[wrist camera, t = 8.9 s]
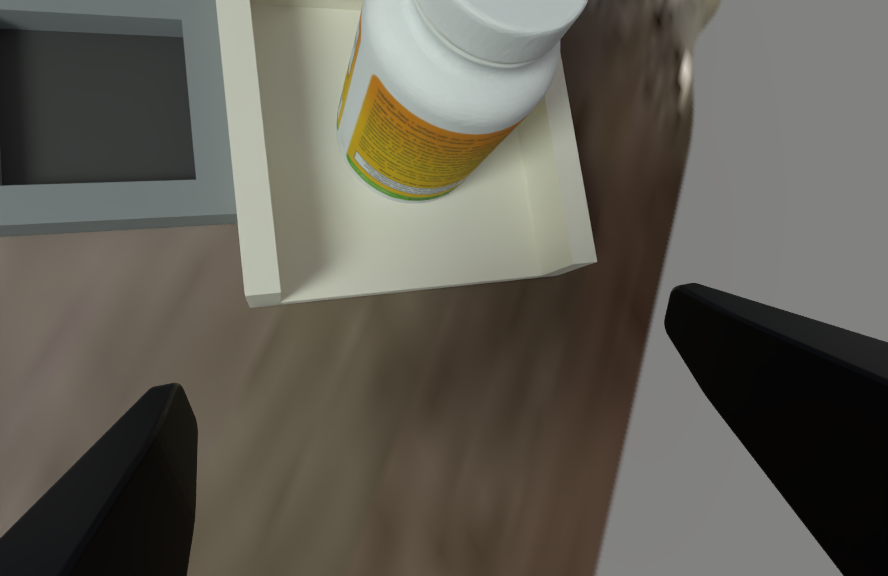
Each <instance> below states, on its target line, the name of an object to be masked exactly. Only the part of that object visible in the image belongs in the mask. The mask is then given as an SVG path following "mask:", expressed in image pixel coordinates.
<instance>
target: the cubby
mask: <svg viewBox="0 0 888 576" xmlns="http://www.w3.org/2000/svg"><path fill="white" fill-rule="evenodd" d="M363 2H364V0H216V8H217V18H218V29H219V39H220V49H221V59H222V69H223V79H224V89H225V99H226V109H227V119H228V129H229V140H230V150H231V160H232V170H233V180H234V190H235V200H236V210H237V220H238V230H239V240H240V251H241V261H242V271H243V281H244V291H245V297H246V300H247V302H248V304H249V307H250V308H253V307H262V306H272V305H282V304H291V303H301V302H310V301H320V300H330V299H339V298H349V297H359V296H368V295H378V294H387V293H397V292H407V291H416V290H426V289H435V288H445V287H455V286H464V285H474V284H483V283H493V282H503V281H512V280H522V279H531V278H541V277H551V276H557V275H560V274H563V273H566V272H569V271H572V270H575V269H578V268H581V267H583V266H586V265H589V264H592V263H595V262H597V258H596V252H595V246H594V241H593V235H592V229H591V224H590V218H589V212H588V207H587V201H586V195H585V190H584V184H583V178H582V173H581V167H580V161H579V156H578V150H577V144H576V139H575V133H574V127H573V122H572V116H571V110H570V104H569V99H568V93H567V87H566V82H565V76H564V70H563V65H562V59H561V53H560V56H559V61H558V66H557V70H556V73H555V76H554V78H553V81H552V83H551V85H550V87H549V89H548V90H547V92H546V94H545V95H544V97H543V98H542V100H541V101H540V102H539V103H538V104H537V106H536V107H535V108H534V109H533V110H532V111H531V112H530V113H529V114H528V115H527V117H526V118H525V119H524V120H523V121H522V122H521V123H520V124H519V125H518V126H517V127H516V128H515V129H514V130H513V131H512V132H511V133H510V134H509V135H508V136H507V137H506V138H505V139H504V140H503V141H502V142H501V143H500V144H499V145H498V146H497V147H496V148H495V149H494V150H493V151H492V152H491V153H490V154H489V155H488V156H487V157H486V158H485V159H484V160H483V161H482V163H481V164H480V165H479V166H478V167H477V168H476V169H475V170H474V171H473V172H472V173H471V174H470V175H469V176H468V177H467V178H466V179H465V180H464V181H463V182H462V183H461V184H460V185H459V186H458V187H457V188H455V189H454V190H453V191H452V192H450V193H449V194H447V195H445V196H443V197H441V198H439V199H437V200H434V201H430V202H425V203H401V202H396V201H393V200H389V199H387V198H384V197H382V196H380V195H378V194H376V193H375V192H373V191H372V190H370V189H369V188H368V187H366V186H365V185H364V184H363V183H362V182H361V181H360V180H359V179H358V178H357V177H356V176H355V175H354V174H353V173H352V171H351V170H350V168H349V167H348V165H347V164H346V162H345V160H344V158H343V156H342V154H341V151H340V148H339V144H338V140H337V134H336V121H337V112H338V107H339V102H340V98H341V94H342V89H343V85H344V81H345V77H346V73H347V69H348V65H349V61H350V57H351V53H352V48H353V44H354V40H355V36H356V31H357V27H358V23H359V18H360V14H361V9H362V5H363Z"/></svg>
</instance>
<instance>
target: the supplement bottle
mask: <svg viewBox="0 0 888 576" xmlns="http://www.w3.org/2000/svg"><path fill="white" fill-rule="evenodd" d="M587 2H588V0H364V2H363V5H362V9H361V14H360V18H359V23H358V27H357V31H356V36H355V40H354V44H353V48H352V53H351V57H350V61H349V65H348V69H347V73H346V77H345V81H344V85H343V89H342V94H341V98H340V102H339V107H338V112H337V121H336V134H337V140H338V144H339V148H340V151H341V154H342V156H343V158H344V160H345V162H346V164H347V165H348V167H349V168H350V170H351V171H352V173H353V174H354V175H355V176H356V177H357V178H358V179H359V180H360V181H361V182H362V183H363V184H364V185H365V186H366V187H368V188H369V189H370V190H372V191H373V192H375V193H376V194H378V195H380V196H382V197H384V198H387V199H389V200H393V201H396V202H401V203H425V202H430V201H434V200H437V199H439V198H441V197H443V196H445V195H447V194H449V193H450V192H452V191H453V190H454V189H455V188H457V187H458V186H459V185H460V184H461V183H462V182H463V181H464V180H465V179H466V178H467V177H468V176H469V175H470V174H471V173H472V172H473V171H474V170H475V169H476V168H477V167H478V166H479V165H480V164H481V163H482V161H483V160H484V159H485V158H486V157H487V156H488V155H489V154H490V153H491V152H492V151H493V150H494V149H495V148H496V147H497V146H498V145H499V144H500V143H501V142H502V141H503V140H504V139H505V138H506V137H507V136H508V135H509V134H510V133H511V132H512V131H513V130H514V129H515V128H516V127H517V126H518V125H519V124H520V123H521V122H522V121H523V120H524V119H525V118H526V117H527V115H528V114H529V113H530V112H531V111H532V110H533V109H534V108H535V107H536V106H537V104H538V103H539V102H540V101H541V100H542V98H543V97H544V95H545V94H546V92H547V90H548V89H549V87H550V85H551V83H552V81H553V78H554V76H555V73H556V70H557V66H558V61H559V56H560V39H561V38H562V37H563V36H564V34H565V33H566V32H567V31H568V29H569V28H570V27H571V26H572V24H573V23H574V22H575V20H576V19H577V18H578V17H579V15H580V14H581V13H582V11H583V10H584V8H585V6H586V4H587Z"/></svg>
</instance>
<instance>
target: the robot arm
mask: <svg viewBox="0 0 888 576" xmlns="http://www.w3.org/2000/svg"><path fill="white" fill-rule="evenodd" d="M664 324H665V329H666V332H667V334H668V336H669V337H670V339H671V341H672V342H673V344H674V346H675V347H676V349H677V350H678V352H679V354H680V355H681V357H682V359H683V360H684V362H685V363H686V365H687V366H688V368H689V370H690V372H691V373H692V375H693V376H694V378H695V380H696V381H697V383H698V384H699V386H700V388H701V389H702V391H703V392H704V394H705V395H706V396H707V398H708V399H709V401H710V402H711V403H712V405H713V406H714V407H715V409H716V410H717V411H718V413H719V414H720V415H721V416H722V418H723V419H724V420H725V422H726V423H727V424H728V426H729V427H730V428H731V430H732V431H733V432H734V433H735V434H736V436H737V437H738V439H739V440H740V441H741V442H742V444H743V445H744V447H745V448H746V449H747V450H748V452H749V453H750V454H751V456H752V457H753V458H754V460H755V461H756V462H757V464H758V465H759V466H760V467H761V469H762V470H763V471H764V473H765V474H766V475H767V477H768V478H769V479H770V480H771V482H772V483H773V484H774V486H775V487H776V488H777V489H778V491H779V492H780V493H781V494H782V496H783V497H784V499H785V500H786V501H787V503H788V504H789V505H790V506H791V508H792V509H793V510H794V512H795V513H796V514H797V516H798V517H799V518H800V520H801V521H802V522H803V523H804V525H805V526H806V527H807V529H808V530H809V531H810V533H811V534H812V535H813V536H814V538H815V539H816V540H817V542H818V543H819V544H820V546H821V547H822V548H823V550H824V551H825V552H826V553H827V555H828V556H829V557H830V559H831V560H832V561H833V563H834V564H835V565H836V566H837V568H838V569H839V570H840V572H841V573H842V574H843V576H888V342H885V341H881V340H878V339H875V338H872V337H869V336H865V335H862V334H859V333H855V332H852V331H849V330H845V329H843V328H839V327H836V326H833V325H829V324H827V323H823V322H820V321H817V320H814V319H810V318H807V317H804V316H801V315H797V314H794V313H791V312H788V311H784V310H781V309H778V308H775V307H771V306H768V305H765V304H762V303H759V302H755V301H752V300H749V299H746V298H742V297H739V296H736V295H733V294H730V293H726V292H723V291H720V290H717V289H713V288H710V287H707V286H704V285H700V284H697V283H690V284H685V285H679V286H676V287H674V288H673V290H672V291H671V294H670V298H669V302H668V306H667V311H666V315H665V320H664ZM197 443H198V428H197V422H196V418H195V415H194V413H193V411H192V408H191V406H190V403H189V401H188V399H187V396H186V394H185V391H184V389H183V387H182V386H181V385H180V384H178V383H170V384H165V385H160V386H155V387H152V388H150V389H149V390H148V391H147V392H146V393H145V394H144V395H143V396H142V397H141V398H140V399H139V400H138V401H137V402H136V403H135V404H134V405H133V406H132V407H131V408H130V409H129V410H128V411H127V412H126V413H125V414H124V415H123V416H122V417H121V418H120V419H119V420H118V421H117V422H116V423H115V424H114V425H113V426H112V427H111V428H110V429H109V430H108V431H107V432H106V433H105V434H104V435H103V436H102V437H101V438H100V439H99V440H98V441H97V442H96V443H95V444H94V445H93V446H92V447H91V448H90V449H89V450H88V451H87V452H86V453H85V454H84V455H83V456H82V457H81V458H80V459H79V460H78V461H77V462H76V463H75V464H74V465H73V466H72V467H71V468H70V469H69V470H68V471H67V472H66V473H65V474H64V475H63V476H62V477H61V478H60V479H59V480H58V481H57V482H56V483H55V484H54V485H53V486H52V487H51V488H50V489H49V490H48V491H47V492H46V493H45V494H44V495H43V496H42V497H41V498H40V499H39V500H38V501H37V502H36V503H35V504H34V505H33V506H32V507H31V508H30V509H29V510H28V511H27V512H26V513H25V514H24V515H23V516H22V517H21V518H20V519H19V520H18V521H17V522H16V523H15V524H14V525H13V526H12V527H11V528H10V529H9V530H8V531H7V532H6V533H5V534H4V535H3V536H2V537H1V538H0V576H187V569H188V563H189V557H190V550H191V544H192V537H193V530H194V522H195V509H196V479H197Z"/></svg>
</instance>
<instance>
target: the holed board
mask: <svg viewBox="0 0 888 576" xmlns="http://www.w3.org/2000/svg"><path fill="white" fill-rule="evenodd" d="M236 223H238V220H237V210H236V200H235V190H234V180H233V170H232V160H231V150H230V140H229V129H228V119H227V109H226V99H225V89H224V79H223V69H222V59H221V49H220V39H219V29H218V18H217V8H216V0H0V237H4V236H22V235H40V234H57V233H75V232H93V231H111V230H129V229H147V228H165V227H183V226H200V225H218V224H236Z"/></svg>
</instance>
